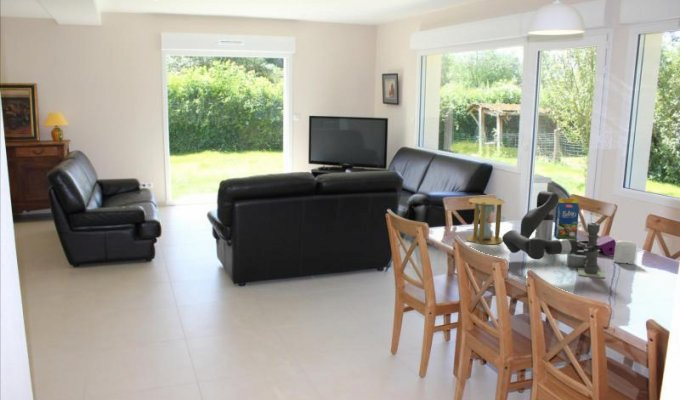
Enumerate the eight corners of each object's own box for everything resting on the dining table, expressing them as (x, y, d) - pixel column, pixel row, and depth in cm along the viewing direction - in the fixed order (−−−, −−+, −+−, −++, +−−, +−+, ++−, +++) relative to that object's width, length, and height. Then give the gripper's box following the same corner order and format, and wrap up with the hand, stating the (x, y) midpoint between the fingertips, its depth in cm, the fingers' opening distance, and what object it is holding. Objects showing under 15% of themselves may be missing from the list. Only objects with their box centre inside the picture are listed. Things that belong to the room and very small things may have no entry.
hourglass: (470, 233, 375) (473, 195, 371) (506, 238, 366) (509, 198, 361) (461, 241, 354) (464, 201, 350) (499, 246, 345) (502, 205, 340)
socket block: (567, 266, 308) (568, 255, 307) (566, 259, 321) (567, 249, 320) (596, 269, 303) (597, 258, 302) (594, 262, 316) (595, 251, 315)
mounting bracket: (589, 265, 332) (619, 252, 330) (583, 252, 331) (614, 239, 329) (582, 260, 341) (612, 248, 339) (577, 247, 340) (607, 235, 338)
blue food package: (576, 238, 367) (580, 199, 362) (557, 238, 367) (560, 199, 362) (572, 236, 373) (576, 197, 368) (553, 236, 373) (557, 197, 368)
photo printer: (633, 262, 317) (636, 240, 315) (634, 264, 313) (637, 242, 311) (612, 260, 320) (615, 238, 318) (613, 262, 316) (616, 240, 314)
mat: (578, 275, 293) (578, 274, 293) (577, 268, 304) (577, 267, 304) (604, 278, 289) (604, 277, 289) (602, 271, 300) (602, 270, 300)
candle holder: (582, 270, 300) (584, 222, 295) (594, 270, 300) (596, 222, 295) (587, 274, 294) (590, 225, 289) (599, 273, 294) (602, 225, 289)
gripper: (556, 250, 296) (583, 248, 301) (574, 258, 283) (602, 256, 287) (557, 235, 295) (585, 234, 299) (575, 243, 281) (604, 241, 286)
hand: (593, 245), depth 293 cm, fingers open, 8 cm apart
